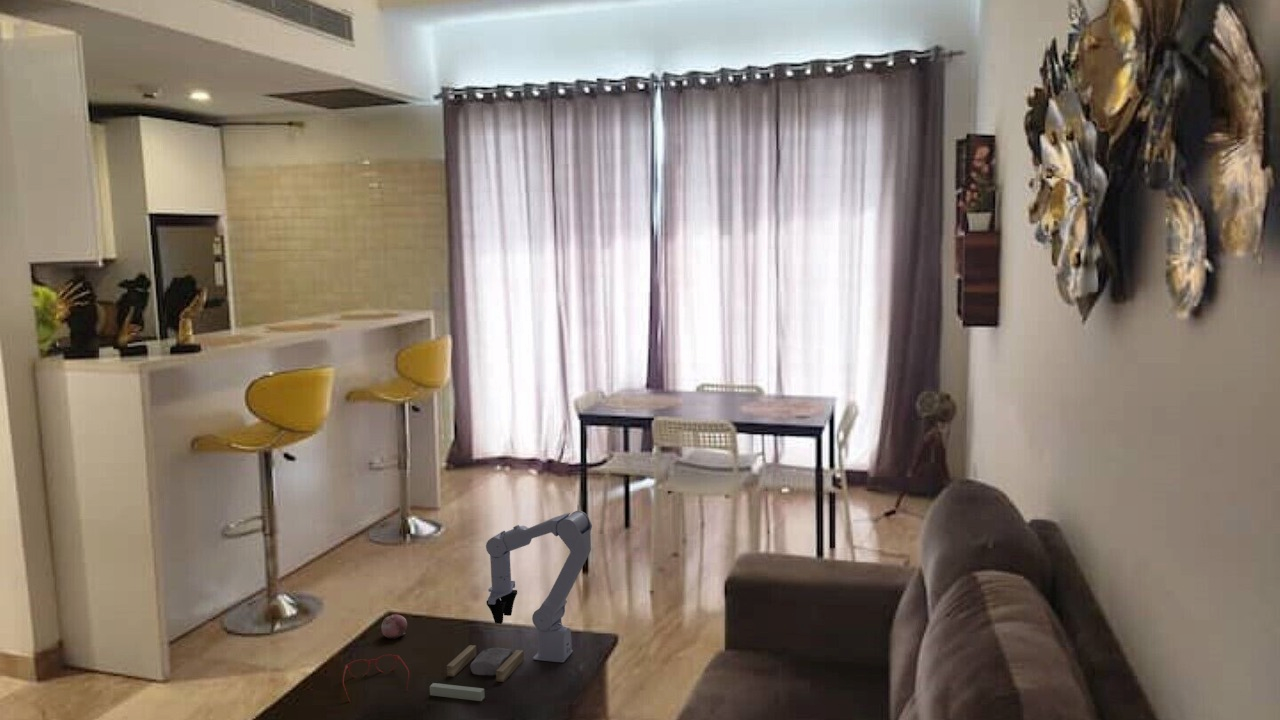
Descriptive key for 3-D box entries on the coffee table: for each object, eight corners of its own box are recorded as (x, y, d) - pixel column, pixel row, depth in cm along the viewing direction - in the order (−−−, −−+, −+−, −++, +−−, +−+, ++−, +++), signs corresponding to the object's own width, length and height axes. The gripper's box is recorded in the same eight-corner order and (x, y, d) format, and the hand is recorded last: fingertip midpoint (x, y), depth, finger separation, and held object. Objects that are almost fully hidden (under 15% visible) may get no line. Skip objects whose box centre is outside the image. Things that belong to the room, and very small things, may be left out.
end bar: (484, 697, 245) (484, 688, 245) (481, 701, 243) (480, 692, 243) (433, 691, 249) (433, 682, 249) (430, 695, 247) (429, 686, 247)
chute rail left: (476, 655, 271) (476, 645, 271) (453, 676, 258) (453, 666, 258) (470, 654, 272) (469, 645, 272) (447, 675, 259) (446, 665, 258)
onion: (381, 644, 284) (373, 622, 284) (391, 636, 292) (384, 614, 292) (404, 636, 283) (396, 614, 283) (414, 629, 290) (407, 607, 291)
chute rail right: (523, 660, 267) (523, 650, 267) (503, 681, 254) (502, 671, 253) (517, 659, 268) (516, 649, 267) (496, 681, 254) (496, 670, 254)
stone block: (469, 681, 259) (502, 676, 257) (465, 664, 259) (498, 659, 257) (484, 664, 271) (516, 659, 269) (481, 648, 271) (512, 643, 269)
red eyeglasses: (404, 668, 266) (403, 651, 265) (411, 691, 251) (410, 674, 250) (341, 679, 259) (339, 662, 259) (344, 704, 245) (343, 686, 244)
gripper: (499, 565, 280) (501, 608, 282) (477, 582, 266) (479, 627, 268) (520, 567, 278) (522, 610, 280) (500, 583, 264) (502, 629, 266)
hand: (503, 619), depth 274 cm, fingers open, 6 cm apart
